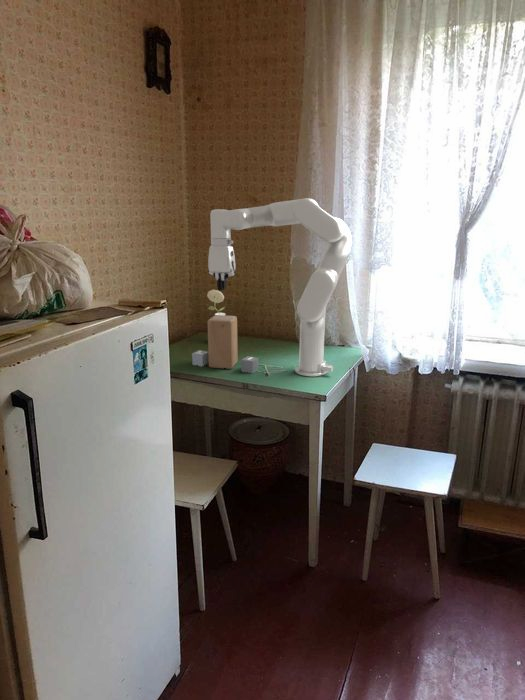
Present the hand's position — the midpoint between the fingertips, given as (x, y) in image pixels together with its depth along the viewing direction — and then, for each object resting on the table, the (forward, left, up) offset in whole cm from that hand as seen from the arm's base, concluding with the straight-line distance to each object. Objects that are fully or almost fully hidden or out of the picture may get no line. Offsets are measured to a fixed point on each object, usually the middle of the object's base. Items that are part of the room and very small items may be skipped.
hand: (221, 290), depth 205 cm
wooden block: (0, 0, -31) cm, 31 cm away
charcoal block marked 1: (-13, +1, -31) cm, 34 cm away
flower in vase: (+20, -29, -31) cm, 47 cm away
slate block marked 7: (+9, +3, -31) cm, 33 cm away
